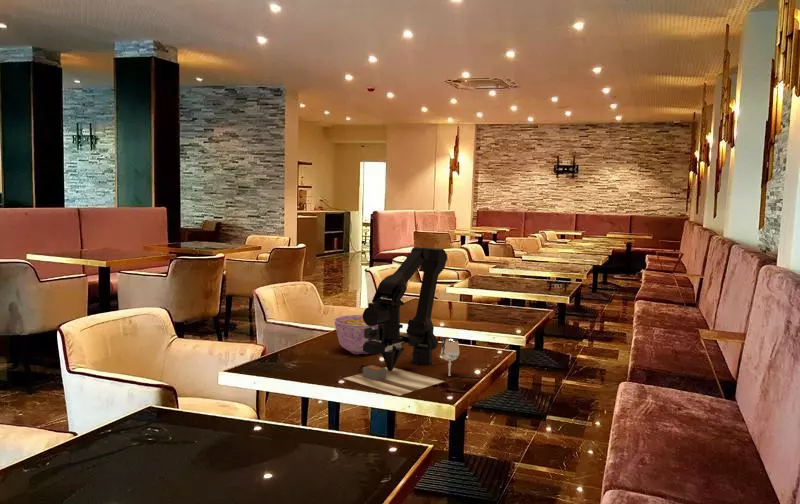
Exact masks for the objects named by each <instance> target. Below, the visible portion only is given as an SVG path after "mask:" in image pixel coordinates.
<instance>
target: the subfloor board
mask: <svg viewBox="0 0 800 504" xmlns="http://www.w3.org/2000/svg"><path fill="white" fill-rule="evenodd" d="M384 368H385V369H386V379H383V380H379V381H375V380H371V379H368V378H364V377H363V372H362V373H358V374H355V375H351V376H347V377H344V378H343V380H348V381H350V382H352V383H357V384H360V385H364V386H367V387H370V388H373V389H377V390H380V391H384V392H388V393H390V394H393V395H396V396H403V395H405V394H409V393H411V392H416V391H419V390H421V389H425V388H427V387H431V386H433V385H439V384H441V383H444V382H445V380H441V379H438V378H434V377H430V376H427V375H423V374H419V373H415V372H412V371H408V370H405V369H400V368H398V367H397V368H396V367H394V368H393V370H392V371H388V369H387V366H385V367H384Z"/></svg>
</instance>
